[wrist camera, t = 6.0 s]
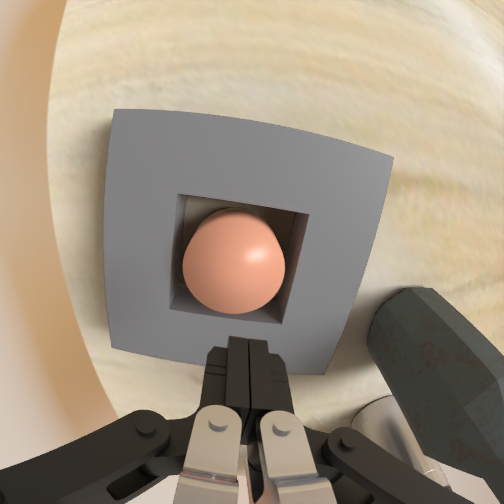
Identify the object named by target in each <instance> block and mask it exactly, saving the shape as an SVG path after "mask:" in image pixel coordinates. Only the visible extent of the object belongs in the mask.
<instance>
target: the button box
mask: <svg viewBox="0 0 504 504" xmlns="http://www.w3.org/2000/svg"><path fill="white" fill-rule="evenodd" d="M393 160H394V157H392V156H389V155H387V154H384V153H381V152H378V151H375V150H372V149H368V148H365V147H362V146H359V145H355V144H352V143H349V142H345V141H342V140H338V139H334V138H331V137H327V136H323V135H319V134H315V133H311V132H307V131H303V130H298V129H294V128H289V127H284V126H279V125H274V124H269V123H264V122H258V121H252V120H246V119H240V118H233V117H226V116H219V115H210V114H201V113H191V112H180V111H166V110H145V109H114V113H113V119H112V126H111V132H110V140H109V148H108V156H107V166H106V178H105V193H104V219H103V252H104V278H105V293H106V305H107V315H108V324H109V332H110V339H111V346H112V348H115V349H119V350H123V351H127V352H132V353H136V354H141V355H146V356H150V357H155V358H160V359H166V360H171V361H177V362H183V363H189V364H195V365H202V366H206V360H207V354H208V353H209V351H210V350H211V349H212V348H213V347H214V346H217V347H224V348H227V343H228V337H229V335H230V336H237V337H244V338H252V339H260V340H267V342H268V350H269V353H273V354H279V355H280V357H281V358H282V360H283V361H284V362H285V365H286V370H287V374H304V375H324V374H325V372H326V370H327V368H328V365H329V363H330V361H331V359H332V356H333V354H334V352H335V349H336V347H337V344H338V342H339V340H340V337H341V335H342V332H343V330H344V327H345V325H346V322H347V319H348V317H349V314H350V312H351V309H352V306H353V303H354V301H355V298H356V295H357V292H358V289H359V286H360V284H361V281H362V278H363V275H364V271H365V268H366V265H367V262H368V259H369V256H370V252H371V249H372V246H373V242H374V239H375V235H376V232H377V228H378V224H379V221H380V217H381V213H382V209H383V205H384V201H385V197H386V193H387V188H388V184H389V179H390V175H391V170H392V165H393ZM187 195H192V196H200V197H207V198H214V199H221V200H228V201H234V202H241V203H247V204H253V205H259V206H265V207H271V208H277V209H283V210H288V211H294V212H296V215H295V219H294V224H293V229H292V233H291V238H290V242H289V247H288V251H287V255H286V260H285V273H284V278H283V281H282V284H281V286H280V288H279V290H278V294H277V298H276V300H273V299H271V300H270V301H269V302H268V303H266V304H265V305H263V306H262V307H260V308H258V309H256V310H253V311H250V312H247V313H241V314H227V313H222V312H218V311H215V310H213V309H210V308H208V307H207V306H205V305H203V304H202V303H201V302H200V301H198V300H197V299H196V298H195V297H194V295H193V294H192V293H191V292H190V290H189V288H187V287H181V286H178V282H179V268H180V255H181V244H182V234H183V224H184V215H185V206H186V198H187Z"/></svg>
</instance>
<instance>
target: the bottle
mask: <svg viewBox="0 0 504 504" xmlns="http://www.w3.org/2000/svg"><path fill="white" fill-rule="evenodd" d="M367 344H368V349H369V352H370V354H371V356H372V358H373V360H374V361H375V363H376V365H377V367H378V368H379V370H380V372H381V374H382V376H383V377H384V379H385V381H386V383H387V385H388V387H389V388H390V390H391V392H392V394H393V396H394V398H395V400H396V401H397V403H398V405H399V407H400V409H401V411H402V413H403V415H404V417H405V419H406V421H407V423H408V424H409V426H410V428H411V430H412V432H413V434H414V436H415V438H416V440H417V442H418V444H419V447H420V449H421V451H422V453H423V455H425V456H427V457H429V458H431V459H434V460H436V461H438V462H441V463H443V464H446V465H448V466H451V467H453V468H456V469H458V470H461V471H463V472H466V473H469V474H472V475H474V476H477V477H480V478H483V479H484V480H485V482H486V483H487V485H488V486H489V488H490V489H491V490H492V492H493V493H494V495H495V496H496V498H497V499H498V500H499V502H500V504H504V356H503V355H502V354H501V353H500V352H499V351H498V349H497V348H496V347H495V346H494V345H493V344H492V343H491V342H490V341H489V340H488V339H487V338H486V337H485V336H484V335H483V334H482V333H481V332H480V331H479V330H478V329H476V328H475V327H474V326H473V325H472V324H471V323H470V322H469V321H468V320H467V319H466V318H465V317H464V316H463V315H462V314H461V313H460V312H458V311H457V310H456V309H455V308H454V307H453V306H452V305H451V304H450V303H449V302H447V301H446V300H445V299H444V298H443V297H442V296H441V295H439V294H438V293H437V292H436V291H435V290H434V289H433V288H406V289H404V290H403V291H401V292H400V293H398V294H397V295H395V296H394V297H392V298H391V299H389V300H388V301H386V302H385V303H384V304H383V305H382V306H381V307H380V309H379V310H378V311H377V312H376V314H375V317H374V320H373V323H372V326H371V329H370V332H369V335H368V339H367Z"/></svg>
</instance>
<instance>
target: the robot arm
mask: <svg viewBox="0 0 504 504" xmlns="http://www.w3.org/2000/svg"><path fill="white" fill-rule="evenodd" d="M351 425H352V428H348V427H341V428H337V429H335V430H334V431H332V432H331V433H330V434H328V433H324V432H320V431H316V430H312V429H309V428H307V427H306V426H304V425H303V424H302V422H301V420H300V419H299V418H298V417H297V416H295V414H294V409H293V403H292V398H291V392H290V387H289V383H288V376H287V370H286V365H285V362H284V361H283V360H282V358H281V357H280V355H279V354H273V353H269V350H268V342H267V340H260V339H252V338H244V337H237V336H230V335H229V337H228V343H227V348H224V347H217V346H214V347H213V348H212V349H211V350H210V351H209V353H208V354H207V360H206V366H205V373H204V380H203V387H202V394H201V401H200V406H199V408H198V409H197V411H196V412H195V413H194V414H192V415H191V416H189V417H186V418H183V419H174V420H166V419H165V418H164V417H163V416H161V415H160V414H158V413H156V412H154V411H150V410H137V411H134V412H132V413H130V414H128V415H126V416H124V417H122V418H120V419H118V420H116V421H114V422H112V423H110V424H108V425H106V426H104V427H102V428H100V429H98V430H96V431H94V432H92V433H90V434H88V435H86V436H84V437H81V438H79V439H77V440H75V441H73V442H70V443H68V444H66V445H64V446H61V447H59V448H57V449H54V450H52V451H50V452H47V453H45V454H42V455H40V456H37V457H35V458H32V459H30V460H27V461H24V462H22V463H19V464H17V465H13V466H10V467H8V468H5V469H2V470H0V504H125V503H126V502H128V501H130V500H132V499H133V498H135V497H137V496H138V495H140V494H142V493H143V492H145V491H146V490H148V489H150V488H151V487H153V486H154V485H156V484H157V483H159V482H160V481H162V480H163V479H165V478H166V477H167V476H169V475H180V476H179V479H178V483H177V488H176V492H175V496H174V500H173V504H237V500H238V487H239V484H238V480H237V470H238V460H239V449H240V444H241V445H247V456H246V458H245V469H246V478H247V486H248V494H249V503H250V504H474V503H473V502H471V501H469V500H467V499H465V498H464V497H462V496H460V495H458V494H456V493H454V492H453V491H452V489H451V487H450V486H449V483H448V481H447V479H446V477H445V474H444V472H443V470H442V468H441V466H440V464H439V462H438V461H436V460H434V459H431V458H429V457H427V456H425V455H423V453H422V451H421V449H420V447H419V444H418V442H417V440H416V438H415V436H414V434H413V432H412V430H411V428H410V426H409V424H408V423H407V421H406V419H405V417H404V415H403V413H402V411H401V409H400V407H399V405H398V403H397V401H396V400H395V398H394V396H388V397H385V398H382V399H379V400H377V401H375V402H373V403H371V404H370V405H368V406H366V407H365V408H364V409H362V410H361V411H360V412H359V413H358V414H357V415H356V416H355V417H354V419H353V421H352V424H351Z"/></svg>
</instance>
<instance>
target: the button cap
mask: <svg viewBox="0 0 504 504" xmlns="http://www.w3.org/2000/svg"><path fill="white" fill-rule="evenodd" d="M284 273H285V262H284V257H283V253H282V251H281V248H280V246H279V243H278V241H277V238H276V236H275V234H274V231H273V230H272V228H271V226H270V225H269V224H268V223H267V221H266V220H265V219H263V218H262V217H261V216H259V215H258V214H256V213H254V212H252V211H250V210H247V209H242V208H227V209H222V210H219V211H217V212H214V213H212V214H211V215H209V216H208V217H207V218H205V219H204V220H203V221H202V222H201V224H200V225H199V226H198V228H197V229H196V231H195V233H194V235H193V237H192V239H191V241H190V243H189V245H188V247H187V249H186V251H185V255H184V259H183V275H184V279H185V282H186V284H187V287H188V288H189V290H190V292H191V293H192V294H193V295H194V297H195V298H196V299H197V300H198V301H200V302H201V303H202V304H203V305H205V306H207V307H208V308H210V309H213V310H215V311H218V312H222V313H227V314H241V313H247V312H250V311H253V310H256V309H258V308H260V307H262V306H263V305H265V304H266V303H268V302H269V301H270V300H271V299H272V298H273V297H274V296H275V294H276V293H277V292H278V290H279V288H280V286H281V284H282V281H283V278H284Z"/></svg>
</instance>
